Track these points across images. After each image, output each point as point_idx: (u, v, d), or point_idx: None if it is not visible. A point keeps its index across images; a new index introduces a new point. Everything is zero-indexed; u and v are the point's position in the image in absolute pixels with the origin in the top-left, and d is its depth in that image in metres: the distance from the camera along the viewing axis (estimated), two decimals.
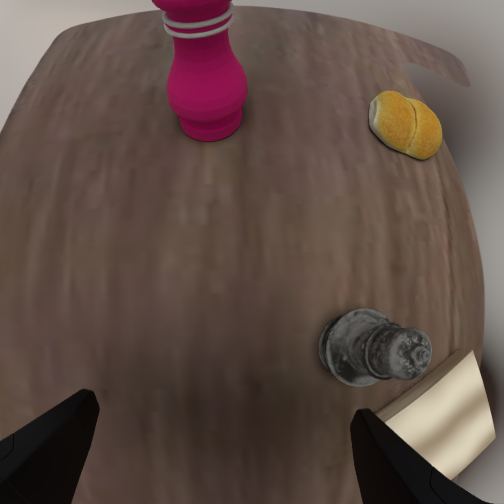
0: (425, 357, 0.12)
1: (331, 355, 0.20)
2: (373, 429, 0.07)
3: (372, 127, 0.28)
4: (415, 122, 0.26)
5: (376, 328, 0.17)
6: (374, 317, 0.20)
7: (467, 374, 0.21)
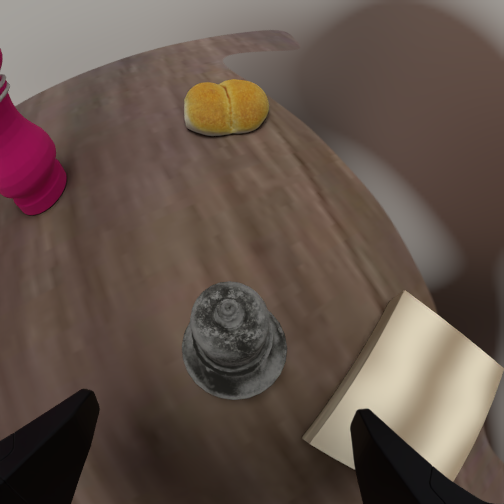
0: (225, 310, 0.09)
1: (193, 371, 0.16)
2: (373, 429, 0.07)
3: (187, 126, 0.28)
4: (227, 98, 0.27)
5: None
6: None
7: (414, 320, 0.18)
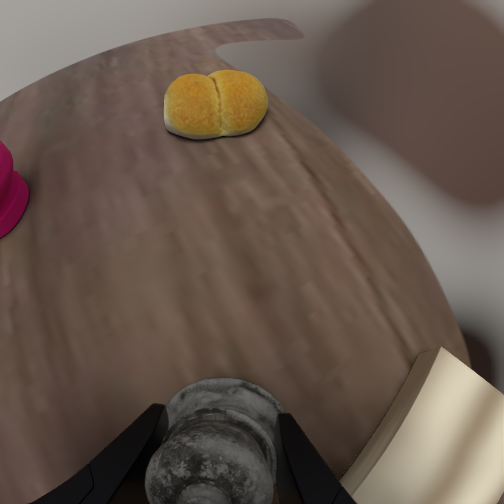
0: None
1: None
2: (286, 436, 0.07)
3: (167, 128, 0.22)
4: (216, 92, 0.21)
5: (171, 430, 0.08)
6: (216, 391, 0.12)
7: (450, 384, 0.13)
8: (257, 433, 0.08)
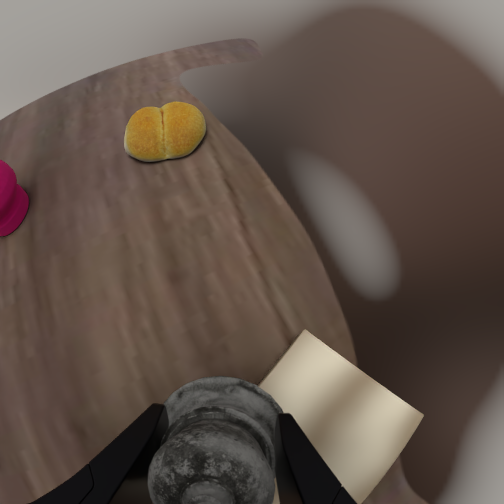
0: None
1: None
2: (286, 436, 0.07)
3: (127, 153, 0.29)
4: (161, 125, 0.28)
5: (171, 428, 0.08)
6: (214, 389, 0.12)
7: (311, 360, 0.20)
8: (256, 431, 0.08)
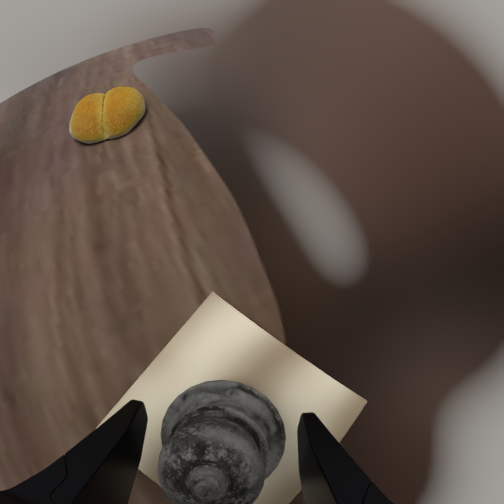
0: (200, 496, 0.05)
1: None
2: (313, 435, 0.07)
3: None
4: (101, 107, 0.26)
5: (177, 426, 0.09)
6: (215, 392, 0.13)
7: (218, 327, 0.18)
8: (251, 428, 0.09)
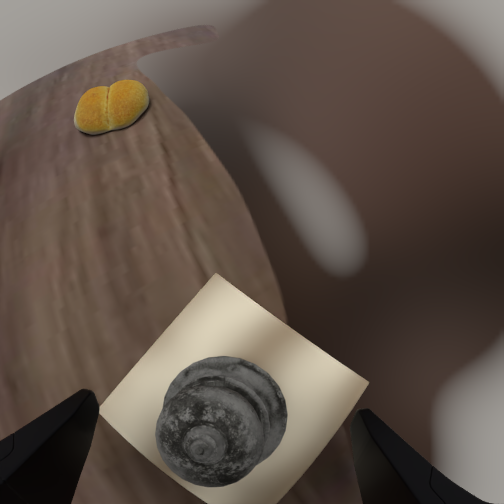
0: (196, 455, 0.05)
1: None
2: (373, 429, 0.07)
3: (77, 128, 0.28)
4: (106, 99, 0.27)
5: None
6: (217, 368, 0.13)
7: (221, 307, 0.18)
8: (252, 398, 0.09)
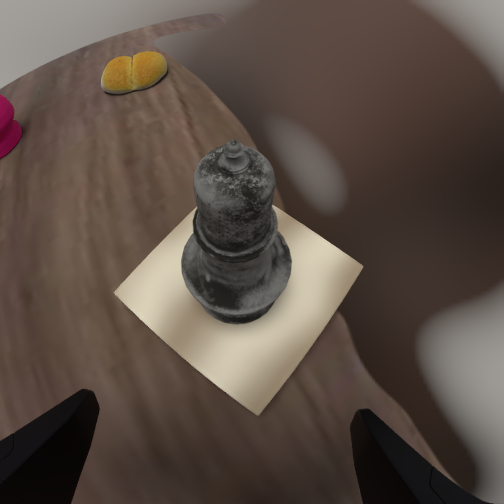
0: (231, 145, 0.09)
1: (192, 284, 0.15)
2: (373, 429, 0.07)
3: (103, 89, 0.32)
4: (130, 64, 0.31)
5: None
6: None
7: None
8: None
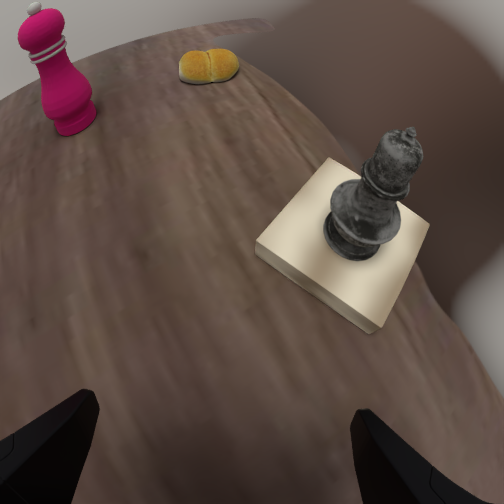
0: (412, 129, 0.14)
1: (344, 223, 0.21)
2: (373, 429, 0.07)
3: (181, 78, 0.37)
4: (208, 59, 0.36)
5: (364, 163, 0.18)
6: (358, 182, 0.22)
7: (336, 174, 0.28)
8: None
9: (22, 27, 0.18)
